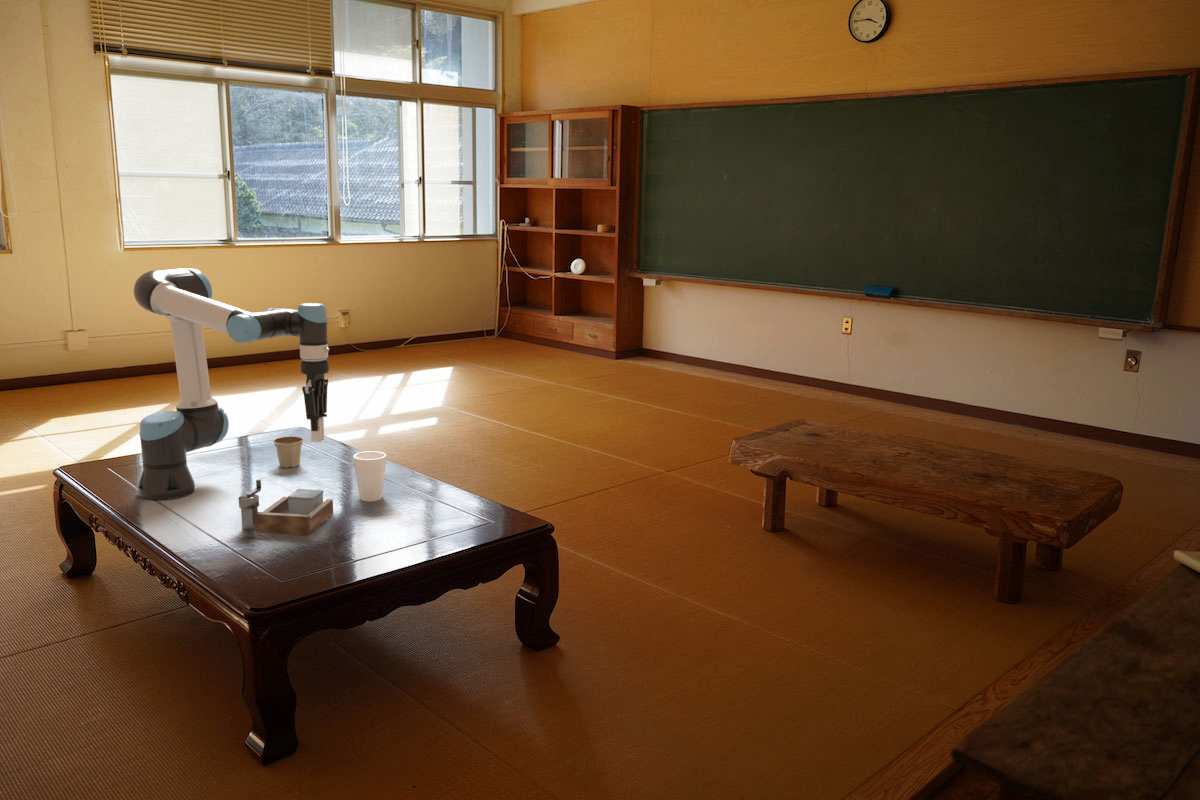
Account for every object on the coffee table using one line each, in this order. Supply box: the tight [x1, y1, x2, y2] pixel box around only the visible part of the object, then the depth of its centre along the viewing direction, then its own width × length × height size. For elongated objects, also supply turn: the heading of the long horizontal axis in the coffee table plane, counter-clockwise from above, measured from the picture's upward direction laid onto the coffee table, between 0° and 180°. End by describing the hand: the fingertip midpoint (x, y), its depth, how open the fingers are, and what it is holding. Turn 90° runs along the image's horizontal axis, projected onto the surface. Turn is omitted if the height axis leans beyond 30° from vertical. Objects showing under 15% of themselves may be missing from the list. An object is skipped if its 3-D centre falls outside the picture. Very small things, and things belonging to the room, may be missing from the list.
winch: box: [238, 479, 262, 531], centre depth 246 cm, size 5×9×11 cm, turn 175°
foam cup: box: [352, 450, 387, 502], centre depth 270 cm, size 10×9×13 cm
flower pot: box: [272, 435, 304, 469], centre depth 301 cm, size 9×9×9 cm
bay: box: [254, 496, 334, 536], centre depth 249 cm, size 14×18×5 cm
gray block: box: [287, 488, 324, 515], centre depth 256 cm, size 7×7×6 cm
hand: (317, 440), depth 263 cm, fingers closed
